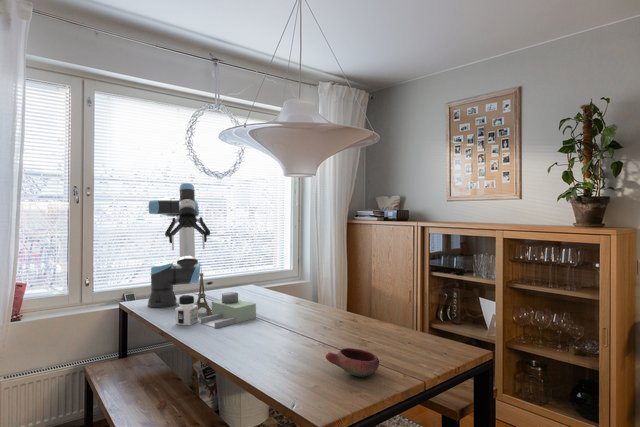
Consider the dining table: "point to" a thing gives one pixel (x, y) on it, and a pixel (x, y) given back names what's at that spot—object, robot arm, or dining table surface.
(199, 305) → the eiffel tower
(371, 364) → the bowl
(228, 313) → the sage green base block
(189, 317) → the container
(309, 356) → the dining table surface
